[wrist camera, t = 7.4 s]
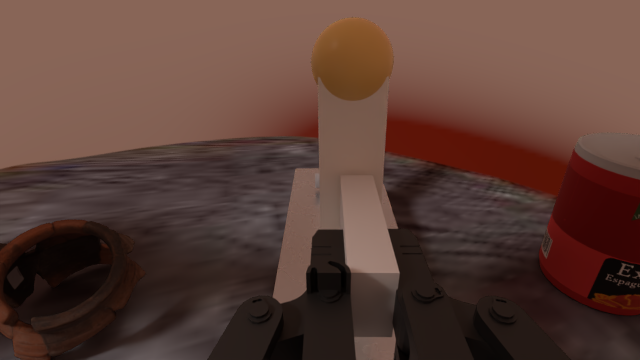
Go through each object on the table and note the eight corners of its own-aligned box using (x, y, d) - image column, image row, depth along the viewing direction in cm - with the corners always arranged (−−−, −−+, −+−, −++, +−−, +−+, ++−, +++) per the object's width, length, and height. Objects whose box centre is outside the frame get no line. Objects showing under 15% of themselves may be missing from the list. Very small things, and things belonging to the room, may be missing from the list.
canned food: (600, 329, 23) (673, 185, 18) (513, 255, 30) (549, 136, 25) (685, 307, 24) (774, 168, 20) (584, 242, 31) (631, 127, 27)
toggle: (309, 320, 19) (297, 16, 13) (311, 276, 22) (302, 20, 16) (389, 319, 18) (416, 13, 13) (379, 276, 22) (396, 18, 16)
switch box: (258, 476, 16) (249, 428, 14) (300, 177, 45) (299, 148, 43) (462, 477, 16) (479, 428, 14) (373, 176, 44) (375, 148, 43)
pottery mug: (165, 258, 31) (156, 213, 25) (129, 377, 25) (105, 357, 19) (15, 241, 29) (-38, 186, 22) (-62, 368, 23) (-164, 341, 17)
